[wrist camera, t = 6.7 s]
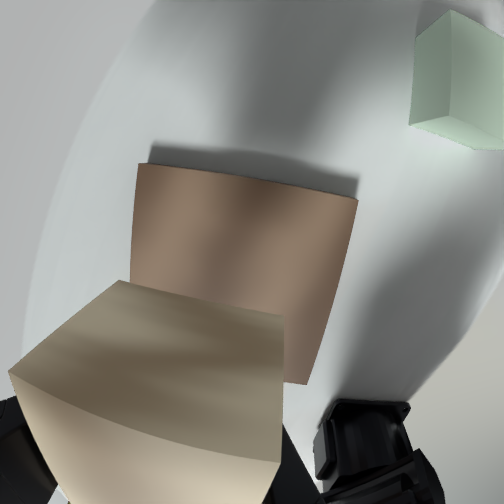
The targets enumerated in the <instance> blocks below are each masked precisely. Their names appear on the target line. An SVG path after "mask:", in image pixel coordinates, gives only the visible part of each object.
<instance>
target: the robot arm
mask: <svg viewBox="0 0 504 504" xmlns="http://www.w3.org/2000/svg"><path fill="white" fill-rule="evenodd" d="M339 405H342V406H339ZM404 408H405V409H404ZM410 409H411V407H410V405H409V403H407V402H380V401H362V400H349V399H339V400H337V401H335V402H334V404H333V406H332V409H331V411H330V413H329V415H328V417H327V420H325V421H323V422H322V424H321V426H320V428H319V430H318V432H317V434H316V436H315V439H314V441H313V444H314V446H313V453H314V460H315V477H316V478H317V480H322V481H323V493H319V491H318V489H317V487H316V485H315V484H314V482H313V480H312V478H311V476H310V474H309V473H308V471H307V469H306V467H305V465H304V463H303V461H302V460H301V458H300V456H299V454H298V452H297V450H296V448H295V446H294V444H293V443H292V441H291V439H290V437H289V435H288V433H287V431H286V429H285V427H284V425H283V423H282V447H281V464H280V466H279V468H278V470H277V472H276V475H275V477H274V479H273V481H272V483H271V485H270V487H269V489H268V491H267V494H266V496H265V498H264V500H263V502H262V504H445V496H444V491H443V488H442V486H441V483H440V481H439V478H438V476H437V473H436V471H435V469H434V468H433V467H432V465H431V464H430V462H429V461H428V459H427V458H426V457H425V455H424V454H423V452H422V451H421V450H420V448H418V449H417V450H415V451H413V449H412V446H411V443H410V440H409V438H408V435H407V432H406V429H405V427H404V424H403V421H404V420H405V418H406V416H407V415H408V413H409V411H410ZM57 485H58V482H57V481H56V479H55V477H54V475H53V474H52V472H51V470H50V468H49V466H48V465H47V463H46V461H45V459H44V457H43V455H42V453H41V451H40V449H39V447H38V445H37V443H36V441H35V439H34V437H33V435H32V432H31V430H30V428H29V426H28V423H27V421H26V419H25V416H24V414H23V412H22V409H21V407H20V404H19V401H18V399H17V396H13V397H11V398H8V399H7V400H2V401H0V504H47V503H48V502H49V500H50V498H51V496H52V494H53V493H54V491H55V489H56V487H57Z"/></svg>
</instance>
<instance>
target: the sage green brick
mask: <svg viewBox="0 0 504 504" xmlns="http://www.w3.org/2000/svg"><path fill="white" fill-rule="evenodd" d="M409 126H412V127H415V128H418V129H421V130H424V131H427V132H430V133H433V134H436V135H438V136H441V137H444V138H447V139H449V140H452V141H454V142H457V143H459V144H462V145H464V146H467V147H469V148H472V149H474V150H504V38H503V37H501V36H499V35H498V34H496V33H495V32H493V31H491V30H489V29H488V28H486V27H484V26H483V25H481V24H479V23H477V22H475V21H473V20H472V19H470V18H468V17H466V16H464V15H462V14H460V13H458V12H456V11H454V10H452V9H449V10H448V11H447V12H446V13H445V14H443V15H442V16H441V17H440V18H439V19H437V20H436V21H435V22H434V23H433V24H431V25H430V26H429V27H428V28H427V29H426V30H424V31H423V32H422V33H421V34H420V35H419V36H417V37H416V38H415V58H414V75H413V88H412V99H411V109H410V117H409Z"/></svg>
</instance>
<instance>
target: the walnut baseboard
mask: <svg viewBox="0 0 504 504" xmlns="http://www.w3.org/2000/svg"><path fill="white" fill-rule="evenodd" d="M358 201H359V200H357V199H355V198H352V197H347V196H343V195H338V194H334V193H329V192H324V191H319V190H315V189H310V188H305V187H300V186H295V185H289V184H284V183H279V182H273V181H268V180H262V179H256V178H251V177H245V176H238V175H232V174H226V173H219V172H213V171H206V170H199V169H191V168H184V167H176V166H168V165H160V164H151V163H139V164H138V172H137V181H136V190H135V201H134V212H133V225H132V241H131V261H130V283H133V284H137V285H141V286H145V287H149V288H153V289H158V290H162V291H166V292H170V293H175V294H179V295H184V296H188V297H193V298H197V299H202V300H206V301H211V302H216V303H221V304H226V305H231V306H235V307H240V308H246V309H251V310H256V311H261V312H266V313H272V314H277V315H283V316H284V380H283V382H288V383H295V384H302V385H307V383H308V380H309V377H310V374H311V371H312V368H313V365H314V362H315V359H316V356H317V353H318V350H319V347H320V344H321V341H322V338H323V335H324V331H325V328H326V325H327V321H328V318H329V315H330V311H331V308H332V305H333V301H334V298H335V294H336V290H337V287H338V283H339V280H340V276H341V272H342V268H343V264H344V261H345V257H346V253H347V249H348V245H349V240H350V236H351V232H352V228H353V223H354V219H355V215H356V210H357V205H358Z"/></svg>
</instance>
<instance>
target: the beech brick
mask: <svg viewBox="0 0 504 504" xmlns="http://www.w3.org/2000/svg"><path fill="white" fill-rule="evenodd" d="M8 373H9V376H10V379H11V382H12V385H13V387H14V391H15V393H16V396H17V399H18V401H19V404H20V407H21V409H22V412H23V414H24V416H25V419H26V421H27V423H28V426H29V428H30V430H31V432H32V435H33V437H34V439H35V441H36V443H37V445H38V447H39V449H40V451H41V453H42V455H43V457H44V459H45V461H46V463H47V465H48V466H49V468H50V470H51V472H52V474H53V475H54V477H55V479H56V481H57V482H58V484H59V486H60V487H61V489H62V491H63V492H64V494H65V496H66V497H67V499H68V500H69V502H70V503H71V504H262V502H263V500H264V498H265V496H266V494H267V491H268V489H269V487H270V485H271V483H272V481H273V479H274V477H275V475H276V472H277V470H278V468H279V466H280V464H281V447H282V418H283V380H284V316H283V315H277V314H272V313H266V312H261V311H256V310H251V309H246V308H240V307H235V306H231V305H226V304H221V303H216V302H211V301H206V300H202V299H197V298H193V297H188V296H184V295H179V294H175V293H170V292H166V291H162V290H158V289H153V288H149V287H145V286H141V285H137V284H133V283H129V282H125V281H121V280H118V281H117V282H116V283H114V284H113V285H112V286H110V287H109V288H108V289H106V290H105V291H104V292H103V293H101V294H100V295H99V296H97V297H96V298H95V299H94V300H92V301H91V302H90V303H89V304H87V305H86V306H85V307H84V308H82V309H81V310H80V311H79V312H77V313H76V314H75V315H74V316H72V317H71V318H70V319H69V320H67V321H66V322H65V323H64V324H62V325H61V326H60V327H59V328H58V329H56V330H55V331H54V332H53V333H52V334H50V335H49V336H48V337H47V338H46V339H44V340H43V341H42V342H41V343H40V344H38V345H37V346H36V347H35V348H34V349H33V350H31V351H30V352H29V353H28V354H27V355H26V356H24V357H23V358H22V359H21V360H20V361H19V362H18V363H17V364H15V365H14V366H13V367H12V368H11V369H10V370H9V371H8Z"/></svg>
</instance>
